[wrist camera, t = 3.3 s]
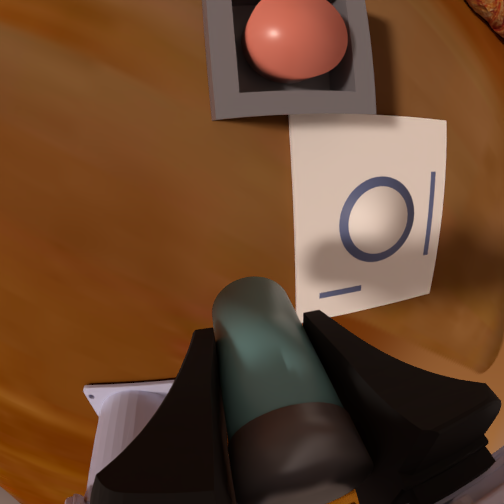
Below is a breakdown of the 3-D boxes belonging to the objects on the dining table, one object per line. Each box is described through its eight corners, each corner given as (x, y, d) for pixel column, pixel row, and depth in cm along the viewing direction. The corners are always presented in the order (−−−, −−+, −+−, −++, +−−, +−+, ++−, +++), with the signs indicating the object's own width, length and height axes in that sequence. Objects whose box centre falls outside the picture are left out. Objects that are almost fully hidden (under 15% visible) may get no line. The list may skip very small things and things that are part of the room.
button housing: (339, 113, 16) (376, 114, 12) (211, 120, 15) (216, 119, 12) (328, 1, 13) (360, -23, 10) (201, -1, 12) (203, -32, 9)
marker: (291, 335, 14) (359, 494, 7) (216, 347, 13) (244, 521, 6) (289, 269, 12) (387, 437, 5) (205, 282, 12) (226, 478, 5)
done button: (328, 83, 13) (352, 78, 11) (244, 85, 13) (254, 77, 11) (320, 9, 12) (341, -6, 9) (237, 7, 11) (245, -13, 9)
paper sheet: (427, 291, 22) (429, 293, 22) (295, 321, 21) (297, 324, 21) (443, 120, 17) (447, 120, 17) (288, 114, 16) (290, 114, 15)
